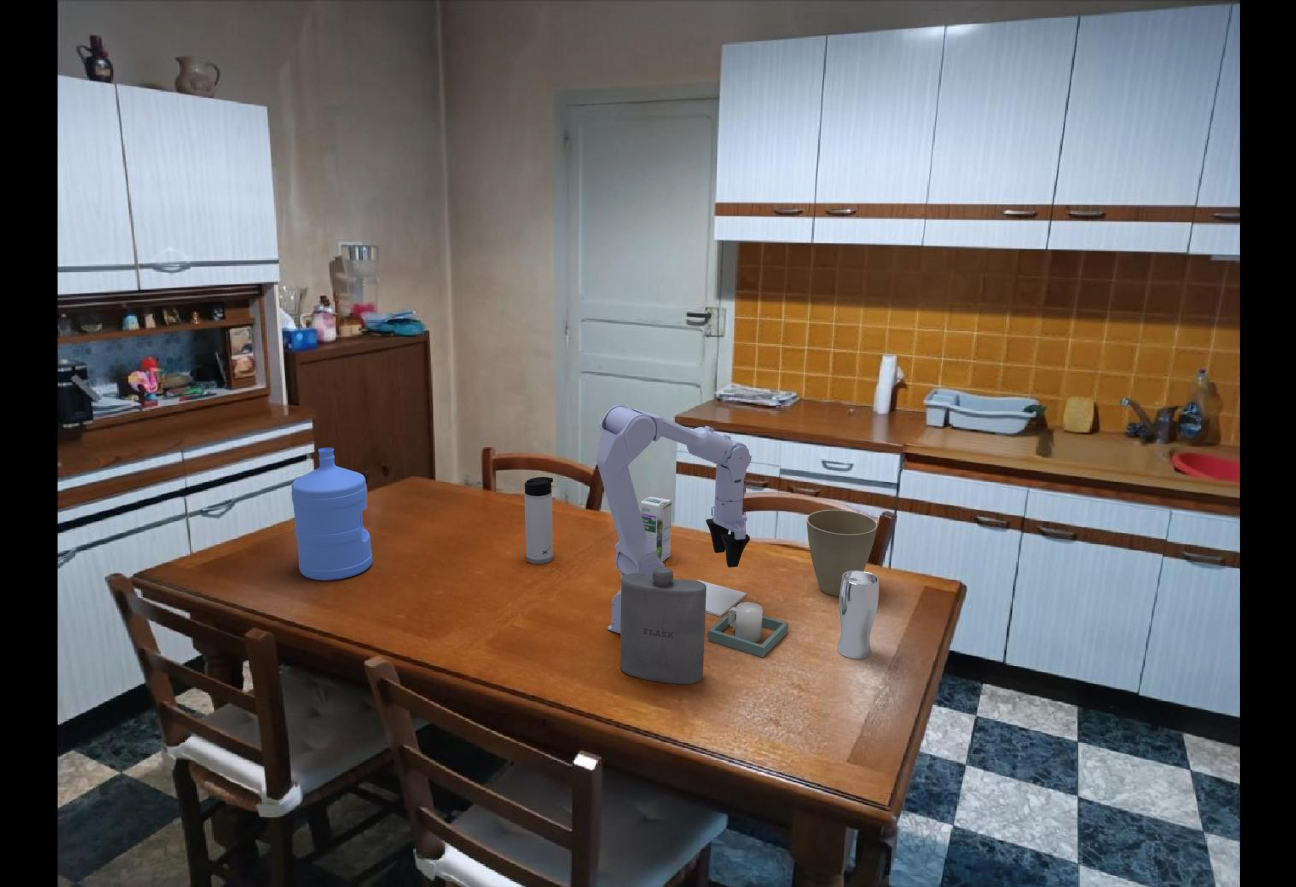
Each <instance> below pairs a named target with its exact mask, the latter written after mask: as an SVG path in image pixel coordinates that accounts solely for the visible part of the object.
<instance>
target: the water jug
mask: <svg viewBox="0 0 1296 887" xmlns="http://www.w3.org/2000/svg"><path fill="white" fill-rule="evenodd" d="M334 451H335V449H334V448H333V447H322V448H319V449H318V451H317V452H318V453H319V456H318V460H319V467H318V468H316V469H314V470H312V471H309V472H307V473H305V474H304V475H302V476H300V477H297V478H296V479H294V481H292V483H291V501H292V505H293V514H294V515H293V516H294V523H295V524H294V525H295V526H294V532H295V537H296V543H297V552H298V554H297V555H298V568H299V569H298V570H299V572H300V574H302V575H303V576H304V577H306V578H308V579H312V580H315V581H337V580H344V579H348V578H351V577H353V576H357V575H359V574H362V573H364V572H365V571H366V570H368V569H369V568H370V567H371V566H372V564H373V551H372V544H371V535H370V532H369V531H368V530H367V529H366V528H365V527H364V523H363V522H364V521H363V511H365V510H366V509H367V508H368V486H367V483H366V481H367V480H366V477H365V476H364V474H362V473H360V472H359V471H358V472H357V471H353V470H350V469H347V468H344V467H341V466H337V465H336V464H335V455H334Z"/></svg>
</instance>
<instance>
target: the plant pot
mask: <svg viewBox="0 0 1296 887" xmlns="http://www.w3.org/2000/svg"><path fill="white" fill-rule="evenodd" d="M878 525H879V524H878V523H877V521H876V519H874V518H872V517H871V516H868V515H866V514H864V513H860V512H856V511H852V510H851V511H850V510H845V509H823V510H819V511H813V512H811V513H810V514H808V515H807V517H806V531H807V540H808V546H809V552H810V558H811V563H812V566H813V570H814V574H815V577H816V580H817V583H818V587H819V589H820V590H821V591H822V592H823V593H825V594H827V595H830V596H835V597H839V595H840V588H841V582H842V575H843V574H844V573H845V572H847V571H853V570H859V571H865V569H866V567H867V563H868V561H869V558H870V554H871V552H872V549H873V545H874V542H875V538H876V534H877V530H878Z"/></svg>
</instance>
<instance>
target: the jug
mask: <svg viewBox="0 0 1296 887" xmlns="http://www.w3.org/2000/svg"><path fill="white" fill-rule="evenodd" d="M763 610H764V608H763V607H762V606H761V605H760V604H759V603H756V602H752V601H751V602H749V601H748V602H747V601H746V602H745V601H744V602H741V603H737V604H736V606H733V607H732V608H731V609H730V610H729V611H728V613H729V616H728V624H730V625H729V627H734V628H735V631H734V632H735V634H734V635H735V636H734V637H738V638H741V639H744V640H747V641H751V642H754V643H757V642H759V641H760V640H761V639H762V630H763V629H762V628H763V627H762V615H763V612H764V611H763ZM735 614H736V620H735Z"/></svg>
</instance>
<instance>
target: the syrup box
mask: <svg viewBox="0 0 1296 887" xmlns="http://www.w3.org/2000/svg"><path fill="white" fill-rule="evenodd" d="M672 503H673V502H672V499H667V498H661V497H655V496H649V497H646V498H645V499H643V500H642V501H640V505H639V506H640V507H639V509H640V513H641V517H642V520H643V524H644V528H645V532H646V535H647V538H648V540H649V542H650V543H651V544H652V546H653V547H654V549H655V550H656V552H657V556H658V558H659V559H660V560H661V561H662V562H663V563H664V561H665V560H667V559H668V558H669V557H670V556H671V536H672V535H671V534H672V531H671V530H672V507H673V506H672Z"/></svg>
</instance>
